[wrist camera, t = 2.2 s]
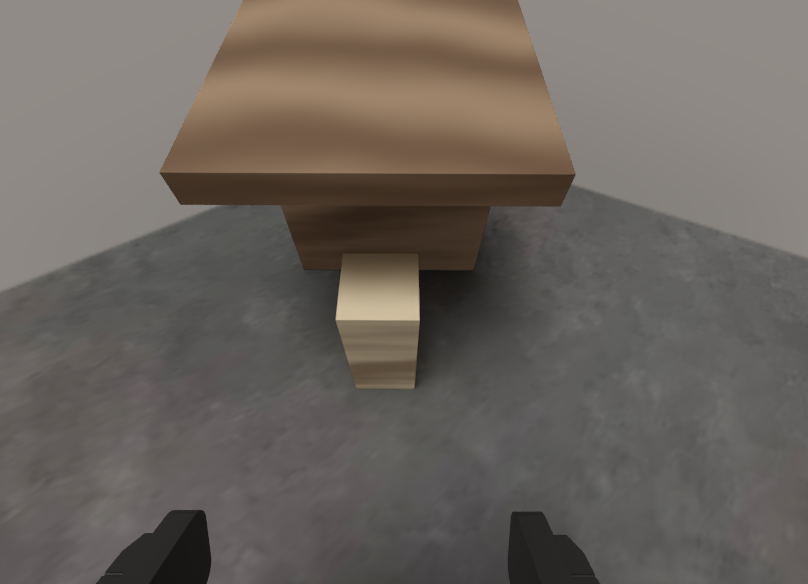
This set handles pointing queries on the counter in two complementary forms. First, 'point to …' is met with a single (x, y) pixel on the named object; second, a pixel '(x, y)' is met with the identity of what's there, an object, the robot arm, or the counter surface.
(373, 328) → the oak block
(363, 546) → the counter surface
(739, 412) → the counter surface
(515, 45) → the walnut shelf
